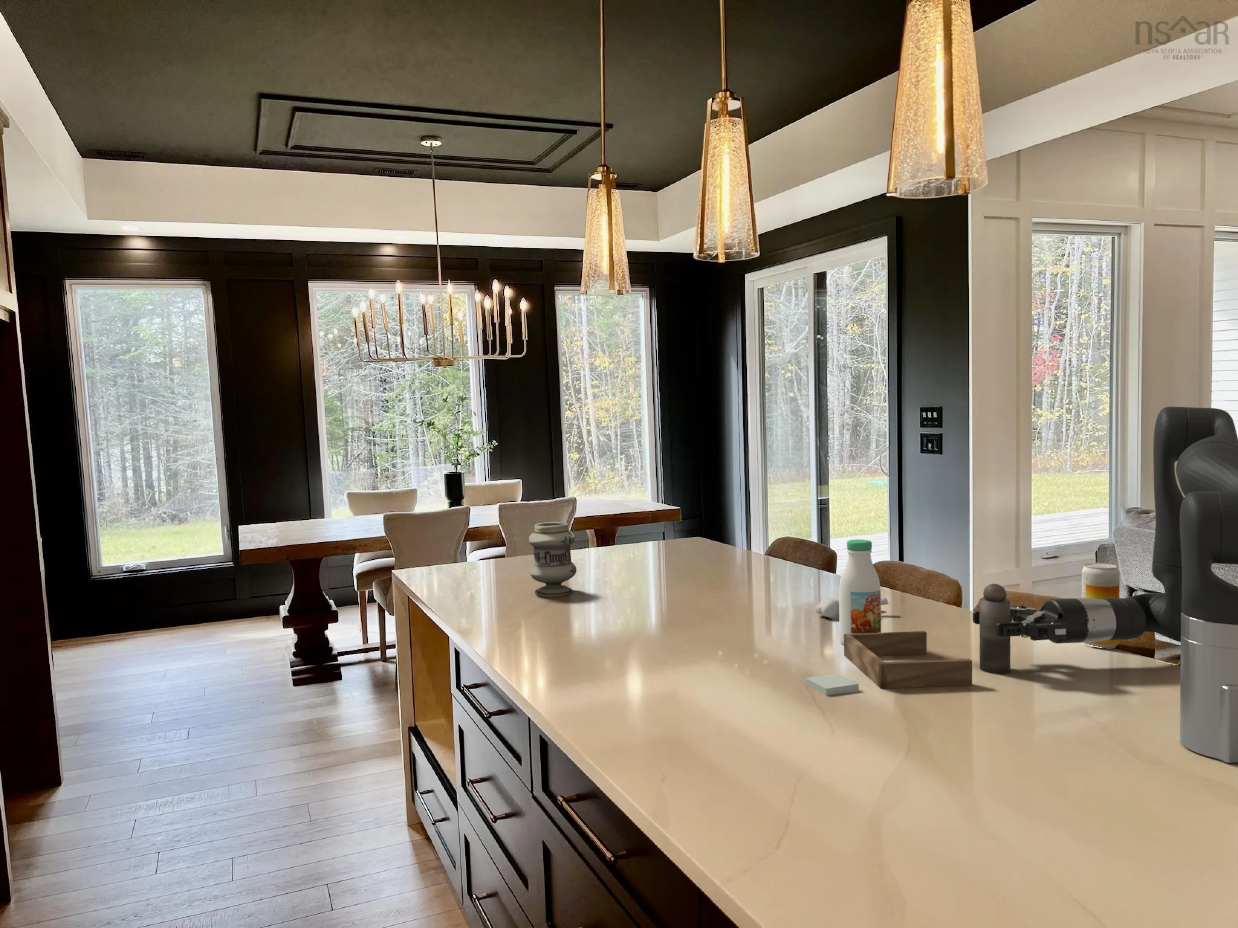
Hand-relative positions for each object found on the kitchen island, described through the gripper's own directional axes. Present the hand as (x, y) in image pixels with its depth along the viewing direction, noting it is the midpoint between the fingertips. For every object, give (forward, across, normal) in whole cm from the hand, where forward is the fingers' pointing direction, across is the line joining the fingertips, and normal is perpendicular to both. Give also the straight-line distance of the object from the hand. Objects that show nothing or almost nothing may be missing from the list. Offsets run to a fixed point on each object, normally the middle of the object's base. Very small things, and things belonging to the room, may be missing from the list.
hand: (985, 623), depth 143 cm
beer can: (-28, -12, +8) cm, 31 cm away
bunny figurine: (+10, -42, +8) cm, 44 cm away
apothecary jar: (+76, -77, +8) cm, 109 cm away
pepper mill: (-2, 0, +8) cm, 8 cm away
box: (+13, -2, +8) cm, 16 cm away
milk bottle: (+15, -19, +8) cm, 26 cm away
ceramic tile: (+28, +6, +8) cm, 30 cm away
